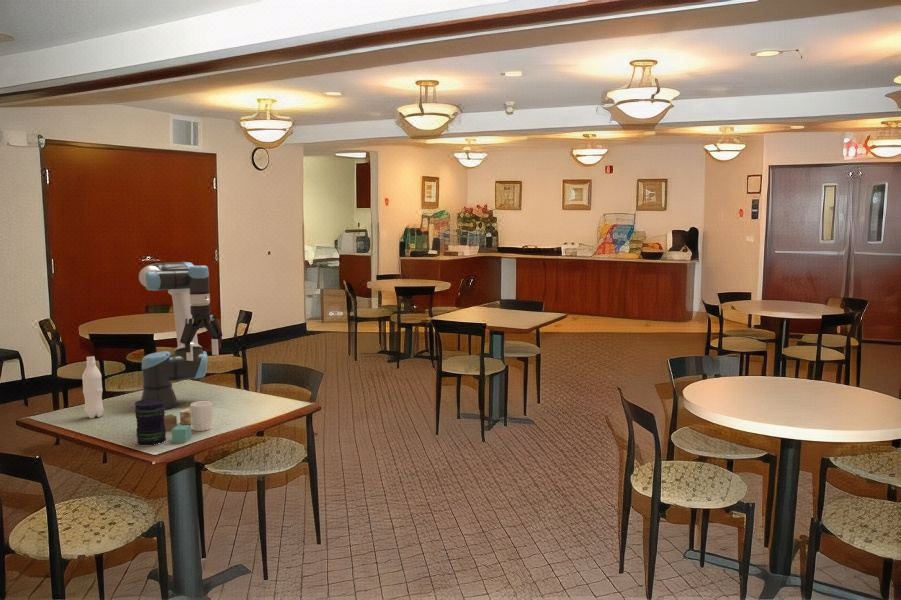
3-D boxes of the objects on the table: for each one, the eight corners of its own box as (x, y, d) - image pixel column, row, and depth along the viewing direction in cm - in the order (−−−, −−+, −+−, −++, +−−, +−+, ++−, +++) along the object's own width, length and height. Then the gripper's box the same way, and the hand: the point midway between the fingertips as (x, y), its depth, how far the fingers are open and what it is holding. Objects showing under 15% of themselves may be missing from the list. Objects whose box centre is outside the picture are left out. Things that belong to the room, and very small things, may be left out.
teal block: (172, 442, 256) (171, 429, 255) (177, 438, 261) (177, 425, 260) (185, 442, 256) (185, 429, 255) (191, 438, 261) (190, 425, 260)
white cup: (206, 432, 268) (205, 406, 267) (187, 431, 269) (186, 405, 268) (217, 426, 276) (216, 401, 274) (198, 425, 277) (197, 400, 276)
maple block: (180, 424, 279) (179, 411, 279) (188, 420, 284) (187, 408, 283) (191, 425, 278) (190, 412, 277) (199, 421, 283) (198, 409, 282)
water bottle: (92, 413, 294) (89, 355, 291) (108, 414, 292) (104, 355, 290) (80, 418, 287) (76, 358, 284) (96, 419, 285) (92, 359, 283)
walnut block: (158, 429, 272) (157, 416, 272) (170, 426, 276) (170, 414, 275) (164, 431, 269) (164, 419, 268) (177, 428, 273) (176, 416, 272)
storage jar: (172, 439, 260) (170, 399, 258) (151, 447, 251) (149, 406, 249) (152, 436, 263) (149, 397, 262) (130, 443, 254) (128, 403, 253)
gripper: (182, 308, 265) (185, 363, 267) (229, 301, 288) (232, 353, 290) (168, 307, 269) (171, 362, 270) (216, 301, 291) (218, 352, 293)
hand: (202, 357), depth 280 cm, fingers open, 13 cm apart
